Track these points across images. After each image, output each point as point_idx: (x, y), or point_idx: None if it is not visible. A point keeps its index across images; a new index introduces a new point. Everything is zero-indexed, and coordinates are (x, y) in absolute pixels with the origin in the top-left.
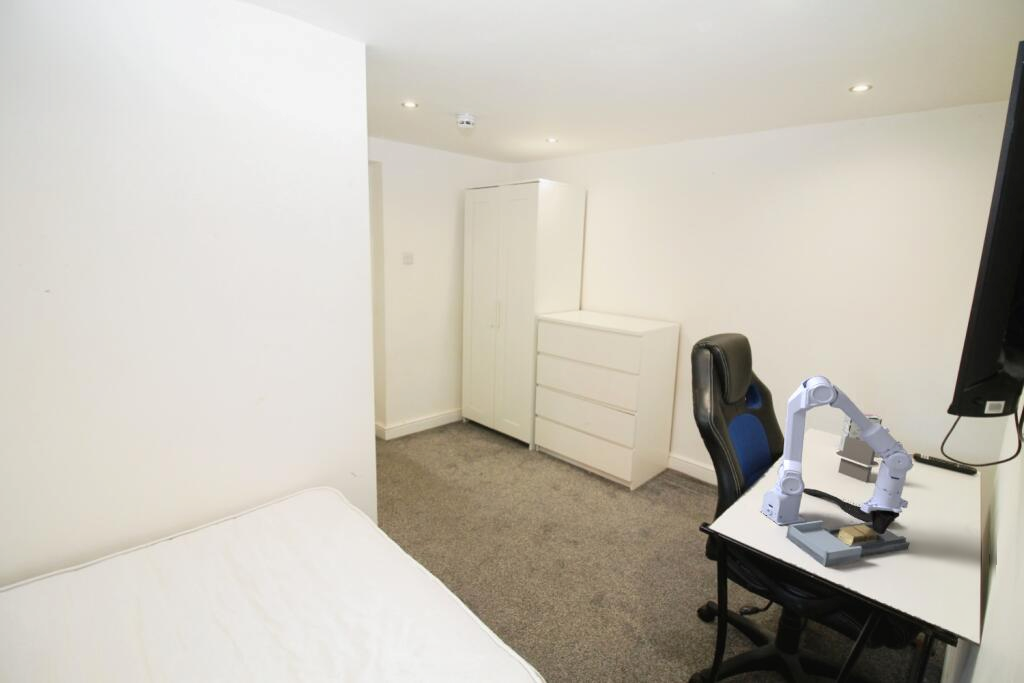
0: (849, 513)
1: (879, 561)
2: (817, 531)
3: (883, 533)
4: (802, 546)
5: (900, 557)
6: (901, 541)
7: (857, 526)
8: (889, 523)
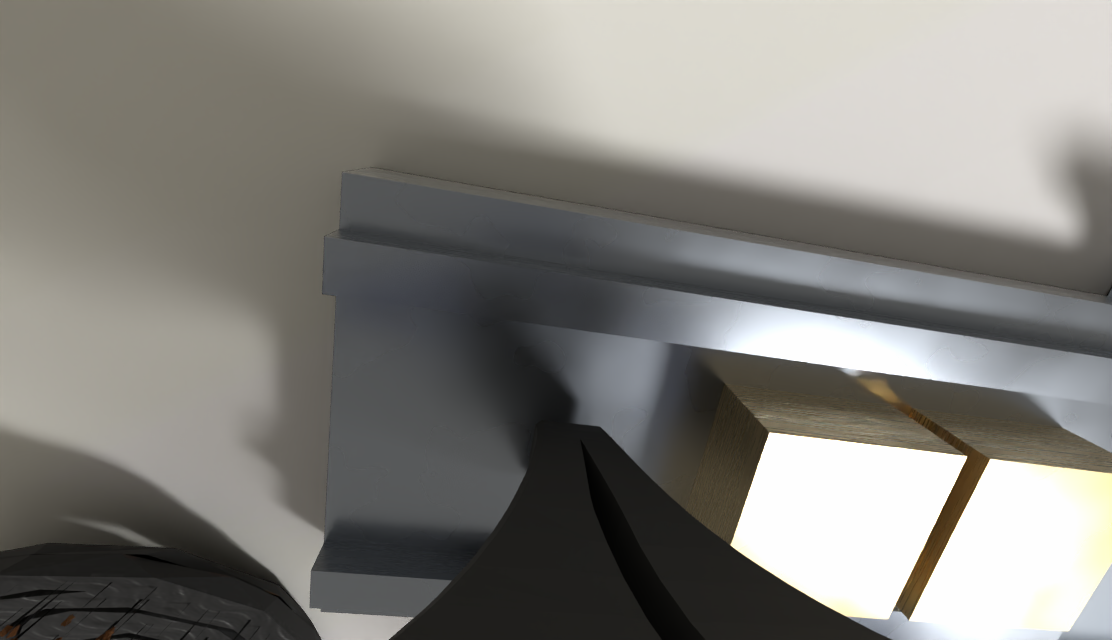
0: None
1: (963, 169)
2: (1097, 637)
3: (544, 421)
4: None
5: (656, 111)
6: (432, 240)
7: (842, 599)
8: (549, 514)
